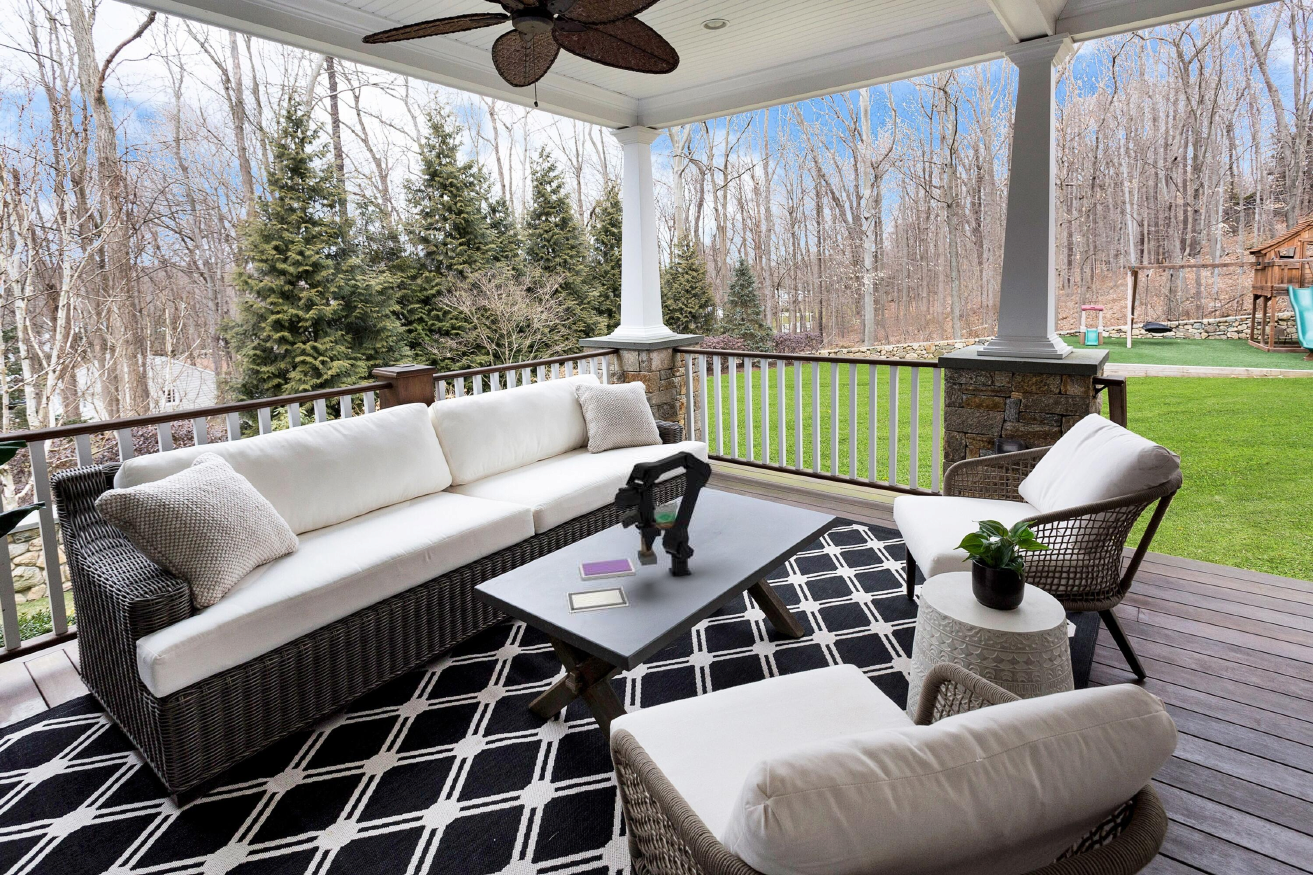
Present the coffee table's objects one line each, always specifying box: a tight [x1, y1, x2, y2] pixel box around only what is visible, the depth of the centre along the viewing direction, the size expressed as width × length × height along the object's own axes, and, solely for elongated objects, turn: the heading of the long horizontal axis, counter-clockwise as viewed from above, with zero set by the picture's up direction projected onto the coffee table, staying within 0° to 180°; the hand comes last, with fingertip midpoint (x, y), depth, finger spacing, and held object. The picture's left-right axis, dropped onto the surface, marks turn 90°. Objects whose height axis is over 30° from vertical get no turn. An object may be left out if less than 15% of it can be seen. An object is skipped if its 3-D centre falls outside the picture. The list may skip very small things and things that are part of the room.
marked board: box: [566, 586, 630, 614], centre depth 215 cm, size 14×18×1 cm
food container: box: [653, 500, 679, 531], centre depth 278 cm, size 12×6×10 cm, turn 112°
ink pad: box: [578, 558, 636, 582], centre depth 238 cm, size 12×18×2 cm, turn 101°
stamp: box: [637, 536, 658, 567], centre depth 222 cm, size 7×5×9 cm
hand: (647, 549), depth 222 cm, fingers closed on stamp, 4 cm apart
